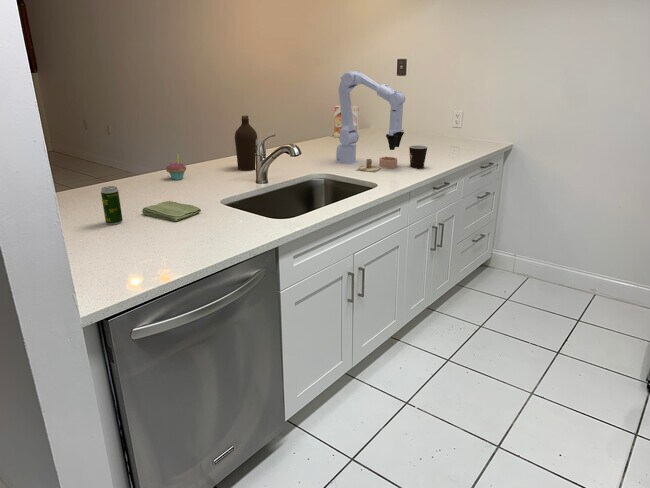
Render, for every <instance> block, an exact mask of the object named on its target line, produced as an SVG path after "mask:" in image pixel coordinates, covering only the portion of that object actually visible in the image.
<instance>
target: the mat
mask: <svg viewBox="0 0 650 488" xmlns="http://www.w3.org/2000/svg"><path fill="white" fill-rule="evenodd" d="M382 169H383V167H379V170H378V171H373V172H372V174H373V173H374V174H376V173H377V172H379V171H380V170H382ZM355 171H357V172H362V171H361V170H359V168H357V169H355ZM363 172H364V173H365V172H366V171H363Z"/></svg>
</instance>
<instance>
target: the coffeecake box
mask: <svg viewBox="0 0 650 488" xmlns="http://www.w3.org/2000/svg"><path fill="white" fill-rule="evenodd" d="M351 108H352V117H353V125H354V126H355V128H356V131H357V133H358V134H359V117H360V115H359V112H360V107H359V105H351ZM333 121H334V126H333V127H334V128H333V130H334V131H333V132H334V133H333V135H334V136H333V137H334V138H339V137H340V130H341V128H342V117H341V108H340V105H338V104H337V105H335V106H334V120H333Z"/></svg>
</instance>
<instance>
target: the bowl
mask: <svg viewBox="0 0 650 488" xmlns="http://www.w3.org/2000/svg"><path fill="white" fill-rule="evenodd" d="M378 160H379V161H378V166H379V168H382V169H384V168H385V169H393V168H397V167H398V158H397V157H394V156H382V157H379V159H378Z"/></svg>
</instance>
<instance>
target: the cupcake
mask: <svg viewBox="0 0 650 488" xmlns="http://www.w3.org/2000/svg"><path fill="white" fill-rule="evenodd" d="M176 155H177V156H176V157H177V158H176V162H172V163H169V164H168V165H167V166H166V170H165V171H166V172H167V173H169V175H170V178H171V179H172V180H175V181H176V180H177V181H178V180H183V178H184V175H185V172H186V171H187V167H186V165H185V164H184V163H181V162H179V159H180V155H179V152H177V154H176Z"/></svg>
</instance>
